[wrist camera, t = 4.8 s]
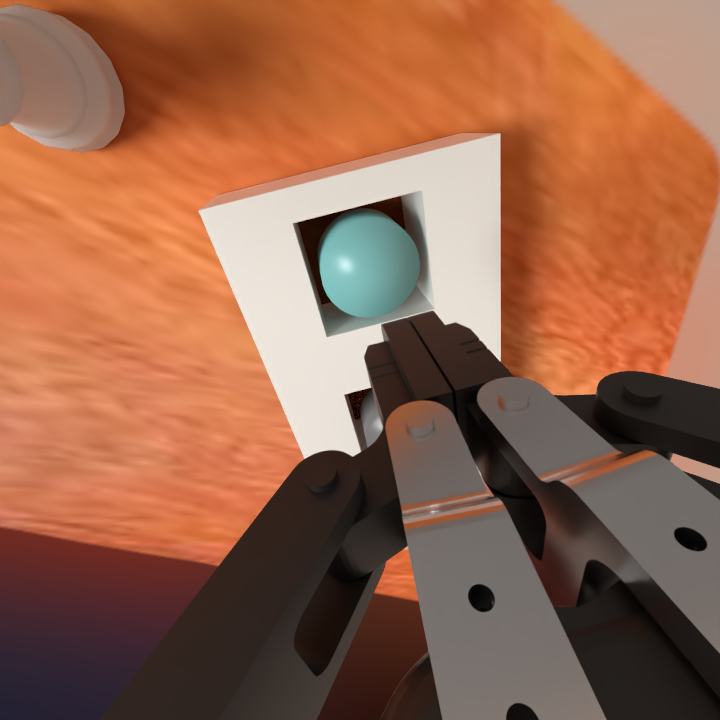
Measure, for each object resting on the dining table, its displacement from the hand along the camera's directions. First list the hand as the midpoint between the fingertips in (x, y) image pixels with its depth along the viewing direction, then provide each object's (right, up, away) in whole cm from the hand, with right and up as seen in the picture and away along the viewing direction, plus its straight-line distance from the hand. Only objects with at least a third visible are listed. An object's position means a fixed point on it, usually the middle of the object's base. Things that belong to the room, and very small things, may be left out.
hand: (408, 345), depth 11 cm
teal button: (-1, +5, +8) cm, 9 cm away
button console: (0, -2, +14) cm, 14 cm away
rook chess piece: (-13, +11, +4) cm, 17 cm away
